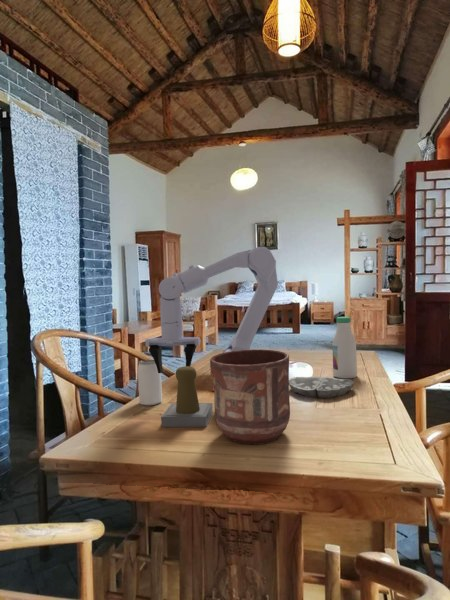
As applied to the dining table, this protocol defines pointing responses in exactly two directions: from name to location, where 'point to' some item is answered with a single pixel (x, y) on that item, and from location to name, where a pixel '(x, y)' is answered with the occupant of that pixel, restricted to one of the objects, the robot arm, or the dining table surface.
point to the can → (149, 383)
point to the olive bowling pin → (186, 391)
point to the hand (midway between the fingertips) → (174, 372)
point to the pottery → (251, 394)
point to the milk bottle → (344, 350)
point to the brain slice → (320, 386)
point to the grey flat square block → (187, 417)
